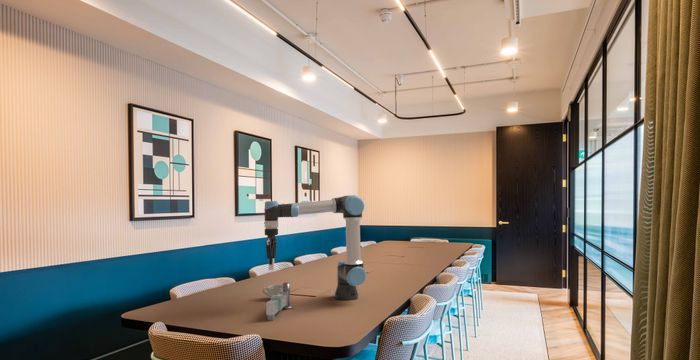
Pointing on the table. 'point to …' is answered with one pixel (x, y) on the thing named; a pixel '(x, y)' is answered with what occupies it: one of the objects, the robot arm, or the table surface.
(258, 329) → the table surface
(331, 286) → the table surface
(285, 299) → the elbow
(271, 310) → the duct stub
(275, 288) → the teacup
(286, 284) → the riser post
